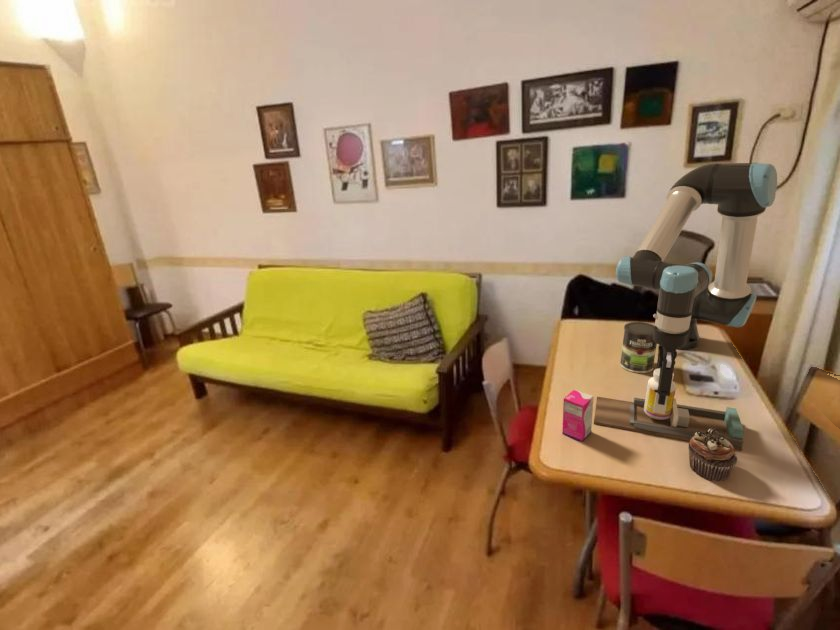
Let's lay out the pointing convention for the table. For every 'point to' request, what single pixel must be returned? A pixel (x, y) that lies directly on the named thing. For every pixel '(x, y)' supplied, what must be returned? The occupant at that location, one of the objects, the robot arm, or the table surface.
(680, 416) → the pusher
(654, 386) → the supplement bottle
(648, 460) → the table surface
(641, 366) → the coffee can
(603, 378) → the table surface
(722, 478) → the cupcake
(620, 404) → the dispenser stand
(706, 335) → the table surface
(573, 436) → the supplement box
